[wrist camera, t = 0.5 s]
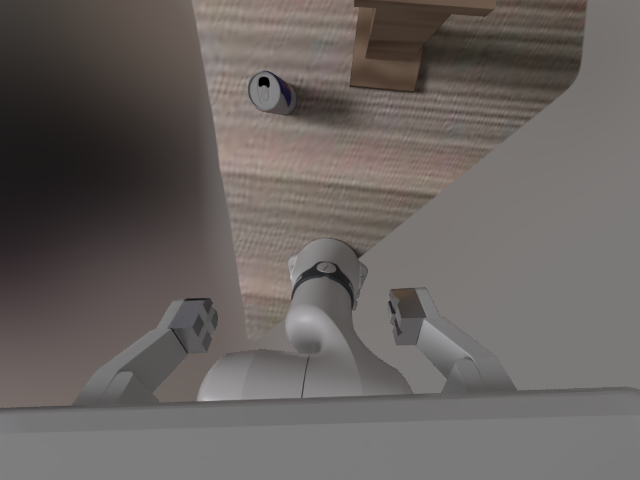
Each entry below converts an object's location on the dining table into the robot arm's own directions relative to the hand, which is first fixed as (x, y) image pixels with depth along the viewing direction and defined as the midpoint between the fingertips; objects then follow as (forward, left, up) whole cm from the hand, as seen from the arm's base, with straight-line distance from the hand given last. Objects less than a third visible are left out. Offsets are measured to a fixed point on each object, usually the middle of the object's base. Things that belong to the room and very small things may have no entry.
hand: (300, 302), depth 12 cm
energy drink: (+11, +12, -44) cm, 47 cm away
